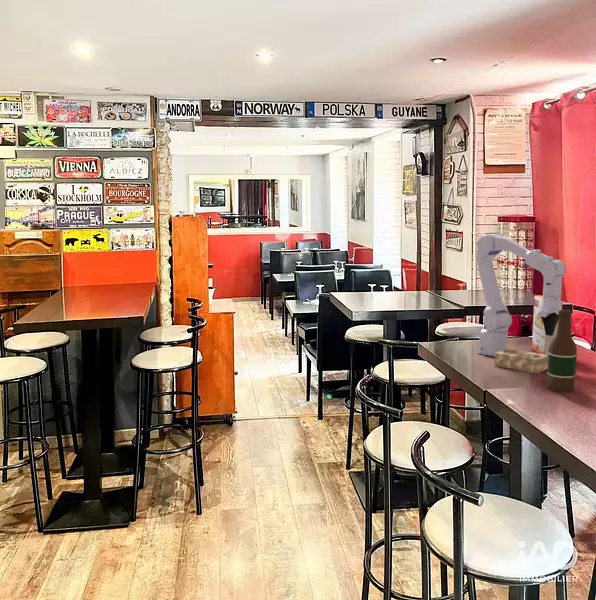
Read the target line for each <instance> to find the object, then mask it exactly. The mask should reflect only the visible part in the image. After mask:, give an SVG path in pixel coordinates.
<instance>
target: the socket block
mask: <svg viewBox="0 0 596 600" xmlns="http://www.w3.org/2000/svg"><path fill="white" fill-rule="evenodd" d="M507 351H512V352H515V354H510V353H506V352H507ZM529 355H537V356H538V358H535V357H529ZM495 365H496V366H495ZM494 366H495V367H499V366H502V367H501V368H504V367H507V369H510V368H513V369H512V370H516V369H519V370H518V371H521V370H524V371H523V372H527V371H530V372H529V373H533V372H534V373H533V374H539V373H542V372H544V371H545V370H546V371H547V368H548V355H544V354H538V353H537V352H531V351H524V350H519V349H518V350H517V349H513V348H507V349H504V350H501V351H499V352H496V353H495V356H494Z"/></svg>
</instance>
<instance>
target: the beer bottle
mask: <svg viewBox="0 0 596 600" xmlns="http://www.w3.org/2000/svg"><path fill="white" fill-rule="evenodd" d="M558 313H559V321H558V328H557V334H556V337H555V338H554V339H553V340H552V342H551V344H550V346H549V353H548V368H547V369H546V371H547V374H546V388H547V389H549V391H551V390H552V392H556V391H557V392H558V393H571V392H572V391H574V390H575V383H576V368H577V356H578V353H577V351H578V350H577V344H576V342H575V340H574V339H573V337H572V314H573V311H572V310H570V309H563V308H562V310H559V312H558Z"/></svg>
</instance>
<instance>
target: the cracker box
mask: <svg viewBox="0 0 596 600" xmlns="http://www.w3.org/2000/svg"><path fill="white" fill-rule="evenodd" d="M533 296H534V297H533V317H532V318H533V320H532V321H533V322H532V341H531V342H532V343H531V349H532V350H533V352H534V353H538V354H544V355H548V353H549V346H550V344H551V342H552V340H553V339H554V338H555V337H556V334H557V328H558V322H557V325H556V328H555V331H554V334H553V336H549V335H546V334H545V329H544V324H543V321H542V319H541V317H540V311H541V308H542V301H543V295H533ZM563 303H564V302H563V301H562V300H561V302H560V306H561V307H562V308H563V305H564V304H563ZM556 314H559V313H558V312H557V313H556ZM558 321H559V320H558Z"/></svg>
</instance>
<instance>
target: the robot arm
mask: <svg viewBox="0 0 596 600" xmlns="http://www.w3.org/2000/svg"><path fill="white" fill-rule="evenodd" d="M475 244H476V248H477V251H476V256H475V257H476V258H475V259H476V264H477V269H478V273H479V279H480V283H481V287H482V290H483V295H484V299H485V303H486V306H485V308H484V310H483V325H484V328H482V329H481V330H480V334H479V335H478V336H479V337H478V352H477V354H480V355H485V356H486V355H487V356H491V357H495V353H496V352H499V351H501V350H504V349H508V333H509V332H508V331H509V328H510V326H511V325H512V323H513V318H512V317H513V316H512V315H511V313H509V310H508V307H507V306H506V305H505V304H504V303H503V301H502V297H501V293H500V289H499V284H498V280H497V279H498V278H497V275H496V271H495V267H494V263H493V262H494V259H495V258H496V257H497V255H499V254H500V253H501V252H503V251H504V250H505V251H507V252H510V253H511V254H514V255H516V256H518V257H520V258H522V259H524V262H525V264H526V265H528V266H529V267H531V268H533V269H534V270H537V271H539V272H540V273H541V275H542V277H543V287H542V288H543V290H542V296H543V301H542V308H541V311H540V317H541V319H542V321H543V324H544V329H545V334H546V335H549V336H553V334H554V331H555V328H556V325H557V322H558V320H559V314H556V313H557V312H559V310H562V309H563V306H562V307H561V306H560V302H561V301H562V299H561V298H562V287H563V286H562V284H563V283H562V282H563V275H565V273H566V270H567V267H566V264H565V262H563V261H562V260H561V259H554V256H550V255H549V256H548V255H547V254H545V253H543V252H542V250H541V249H539V248H538V249H531V250H530V249H528V248H526V247H524V246H523V245H522V244H520V243H518V242H517V241H515V240H513V239H512V238H511V237H510V236H507V235H504V234H503V233H492V234H488V233H486V234H482V235H481V236H480V237H479V238H478V240H477V241H476V243H475Z"/></svg>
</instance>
